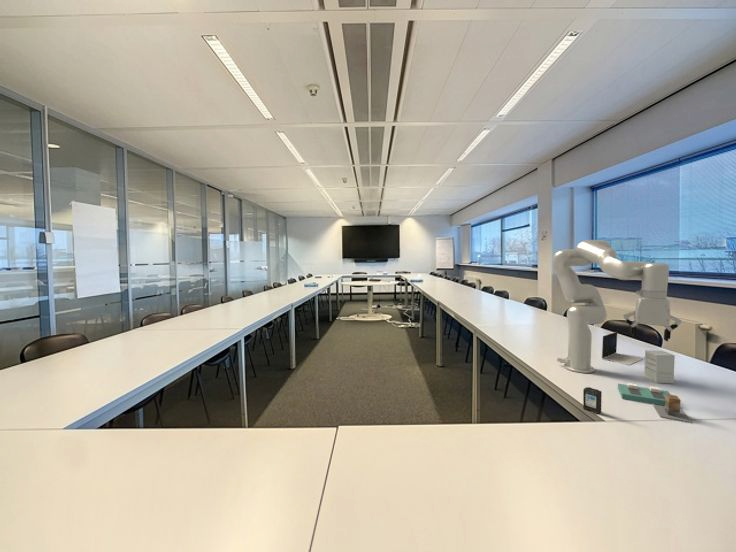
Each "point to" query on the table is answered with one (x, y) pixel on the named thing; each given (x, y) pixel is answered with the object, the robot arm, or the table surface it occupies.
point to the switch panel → (642, 395)
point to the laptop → (610, 348)
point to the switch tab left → (632, 386)
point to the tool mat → (663, 414)
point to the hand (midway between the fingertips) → (649, 338)
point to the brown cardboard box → (672, 405)
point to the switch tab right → (655, 389)
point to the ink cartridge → (592, 400)
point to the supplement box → (659, 366)
